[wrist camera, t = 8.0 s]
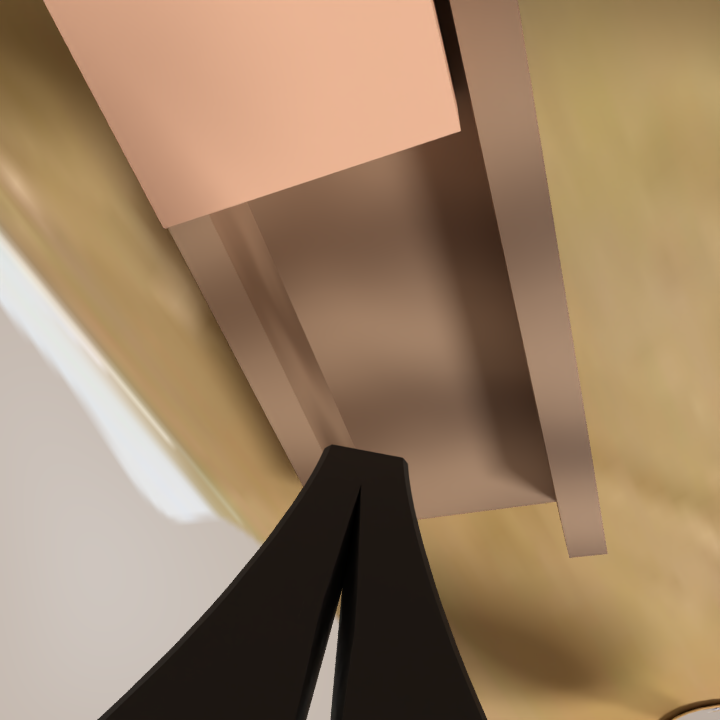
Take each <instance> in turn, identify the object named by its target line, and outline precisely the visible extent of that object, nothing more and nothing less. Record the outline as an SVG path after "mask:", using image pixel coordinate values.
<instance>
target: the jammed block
mask: <svg viewBox="0 0 720 720" xmlns="http://www.w3.org/2000/svg"><path fill="white" fill-rule="evenodd" d="M43 1H44V3H45V5H46V7H47V9H48V10H49V12H50V14H51V16H52V18H53V20H54V22H55V24H56V26H57V28H58V29H59V31H60V33H61V35H62V37H63V39H64V41H65V43H66V45H67V46H68V48H69V50H70V52H71V54H72V56H73V58H74V60H75V62H76V64H77V65H78V67H79V69H80V71H81V73H82V75H83V77H84V79H85V81H86V82H87V84H88V86H89V88H90V90H91V92H92V94H93V96H94V98H95V100H96V101H97V103H98V105H99V107H100V109H101V111H102V113H103V115H104V117H105V118H106V120H107V122H108V124H109V126H110V128H111V130H112V132H113V134H114V135H115V137H116V139H117V141H118V143H119V145H120V147H121V149H122V151H123V153H124V154H125V156H126V158H127V160H128V162H129V164H130V166H131V168H132V170H133V171H134V173H135V175H136V177H137V179H138V181H139V183H140V185H141V187H142V189H143V190H144V192H145V194H146V196H147V198H148V200H149V202H150V204H151V206H152V207H153V209H154V211H155V213H156V215H157V217H158V219H159V221H160V223H161V224H162V226H163V228H164V229H165V228H168V227H171V226H174V225H178V224H181V223H184V222H187V221H190V220H193V219H196V218H199V217H202V216H205V215H208V214H211V213H214V212H217V211H220V210H223V209H226V208H229V207H232V206H235V205H238V204H241V203H244V202H247V201H250V200H253V199H256V198H259V197H262V196H265V195H268V194H271V193H274V192H278V191H281V190H284V189H287V188H290V187H293V186H296V185H299V184H302V183H305V182H308V181H311V180H314V179H317V178H320V177H323V176H326V175H329V174H332V173H335V172H338V171H341V170H344V169H347V168H350V167H353V166H356V165H359V164H362V163H365V162H368V161H371V160H375V159H378V158H381V157H384V156H387V155H390V154H393V153H396V152H399V151H402V150H405V149H408V148H411V147H414V146H417V145H420V144H423V143H426V142H429V141H432V140H435V139H438V138H441V137H444V136H447V135H450V134H453V133H456V132H459V131H461V128H460V121H459V115H458V108H457V101H456V94H455V90H454V85H453V81H452V77H451V72H450V68H449V63H448V59H447V55H446V50H445V46H444V41H443V37H442V32H441V28H440V24H439V19H438V15H437V10H436V6H435V2H434V0H43Z"/></svg>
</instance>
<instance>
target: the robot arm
mask: <svg viewBox="0 0 720 720" xmlns="http://www.w3.org/2000/svg"><path fill="white" fill-rule="evenodd" d="M341 591H342V597H341V608H340V619H339V630H338V641H337V642H338V643H337V653H336V664H335V676H334V686H333V698H332V709H331V720H487V718H486V716H485V713H484V711H483V709H482V706H481V704H480V702H479V699H478V697H477V695H476V692H475V690H474V688H473V685H472V683H471V681H470V678H469V676H468V673H467V671H466V668H465V666H464V663H463V661H462V658H461V656H460V653H459V650H458V648H457V645H456V643H455V640H454V637H453V634H452V632H451V629H450V626H449V623H448V620H447V618H446V615H445V612H444V609H443V607H442V604H441V601H440V598H439V594H438V591H437V588H436V585H435V582H434V579H433V575H432V572H431V569H430V565H429V562H428V559H427V555H426V552H425V548H424V545H423V541H422V537H421V534H420V530H419V526H418V521H417V517H416V512H415V508H414V503H413V498H412V492H411V486H410V479H409V469H408V463H407V462H406V461H405V459H404V458H402V457H397V456H392V455H386V454H381V453H376V452H371V451H365V450H360V449H355V448H349V447H344V446H339V445H333V444H331V445H329V446H328V447H326V448H324V450H323V453H322V455H321V457H320V459H319V461H318V463H317V465H316V467H315V468H314V470H313V472H312V474H311V475H310V477H309V479H308V480H307V482H306V484H305V485H304V487H303V488H302V490H301V491H300V493H299V495H298V496H297V498H296V499H295V501H294V502H293V504H292V505H291V506H290V508H289V509H288V511H287V512H286V513H285V515H284V516H283V518H282V519H281V520H280V522H279V523H278V524H277V526H276V527H275V529H274V530H273V531H272V533H271V534H270V535H269V537H268V538H267V539H266V541H265V542H264V543H263V545H262V546H261V547H260V549H259V550H258V551H257V552H256V553H255V555H254V556H253V557H252V558H251V560H250V561H249V562H248V563H247V564H246V566H245V567H244V568H243V569H242V570H241V572H240V573H239V574H238V575H237V577H236V578H235V579H234V580H233V582H232V583H231V584H230V585H229V586H228V588H227V589H226V590H225V591H224V592H223V593H222V594H221V595H220V597H219V598H218V599H217V600H216V601H215V602H214V603H213V605H212V606H211V607H210V608H209V609H208V610H207V611H206V612H205V613H204V614H203V615H202V617H201V618H200V619H199V620H198V621H197V622H196V623H195V624H194V625H193V626H192V627H191V629H189V631H187V633H186V634H185V635H184V636H183V637H182V638H181V639H180V640H179V641H178V642H177V643H176V644H175V645H174V646H173V647H172V648H171V649H170V650H169V651H168V652H167V653H166V654H165V655H164V656H163V657H162V658H161V659H160V660H159V661H158V662H157V663H156V664H155V665H154V666H153V667H152V668H151V669H150V670H149V671H148V672H147V673H146V674H145V675H144V676H143V677H142V678H141V679H140V680H139V681H138V682H137V683H136V684H135V685H134V686H133V687H132V688H131V689H130V690H129V691H128V692H127V693H126V694H124V695H123V696H122V697H121V698H120V699H119V700H118V701H117V702H116V703H115V704H114V705H113V706H112V707H111V708H110V709H109V710H107V711H106V712H105V713H104V714H103V715H102V716H101V717H100V718H99V719H98V720H306V719H307V715H308V711H309V708H310V704H311V700H312V697H313V693H314V689H315V686H316V682H317V679H318V675H319V671H320V668H321V664H322V660H323V657H324V653H325V650H326V646H327V642H328V638H329V635H330V631H331V628H332V624H333V620H334V617H335V613H336V610H337V606H338V602H339V599H340V595H341Z"/></svg>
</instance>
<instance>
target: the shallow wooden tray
mask: <svg viewBox="0 0 720 720" xmlns="http://www.w3.org/2000/svg"><path fill="white" fill-rule="evenodd" d="M434 2H435V6H436V10H437V15H438V19H439V24H440V28H441V32H442V37H443V41H444V46H445V50H446V55H447V59H448V63H449V68H450V72H451V77H452V81H453V85H454V90H455V94H456V101H457V108H458V115H459V121H460V128H461V131H459V132H456V133H453V134H450V135H447V136H444V137H441V138H438V139H435V140H432V141H429V142H426V143H423V144H420V145H417V146H414V147H411V148H408V149H405V150H402V151H399V152H396V153H393V154H390V155H387V156H384V157H381V158H378V159H375V160H371V161H368V162H365V163H362V164H359V165H356V166H353V167H350V168H347V169H344V170H341V171H338V172H335V173H332V174H329V175H326V176H323V177H320V178H317V179H314V180H311V181H308V182H305V183H302V184H299V185H296V186H293V187H290V188H287V189H284V190H281V191H278V192H274V193H271V194H268V195H265V196H262V197H259V198H256V199H253V200H250V201H247V202H244V203H241V204H238V205H235V206H232V207H229V208H226V209H223V210H220V211H217V212H214V213H211V214H208V215H205V216H202V217H199V218H196V219H193V220H190V221H187V222H184V223H181V224H178V225H174V226H171V227H168V229H169V231H170V233H171V235H172V237H173V239H174V241H175V243H176V245H177V246H178V248H179V250H180V252H181V254H182V256H183V258H184V260H185V262H186V264H187V266H188V267H189V269H190V271H191V273H192V275H193V277H194V279H195V281H196V283H197V285H198V287H199V288H200V290H201V292H202V294H203V296H204V298H205V300H206V302H207V304H208V306H209V308H210V309H211V311H212V313H213V315H214V317H215V319H216V321H217V323H218V325H219V327H220V329H221V330H222V332H223V334H224V336H225V338H226V340H227V342H228V344H229V346H230V348H231V350H232V351H233V353H234V355H235V357H236V359H237V361H238V363H239V365H240V367H241V369H242V371H243V372H244V374H245V376H246V378H247V380H248V382H249V384H250V386H251V388H252V390H253V392H254V393H255V395H256V397H257V399H258V401H259V403H260V405H261V407H262V409H263V411H264V413H265V414H266V416H267V418H268V420H269V422H270V424H271V426H272V428H273V430H274V432H275V434H276V435H277V437H278V439H279V441H280V443H281V445H282V447H283V449H284V451H285V453H286V455H287V456H288V458H289V460H290V462H291V464H292V466H293V468H294V470H295V472H296V474H297V476H298V477H299V479H300V481H301V483H302V485H303V487H304V485H305V484H306V482H307V480H308V479H309V477H310V475H311V474H312V472H313V470H314V468H315V467H316V465H317V463H318V461H319V459H320V457H321V455H322V453H323V450H324V448H326V447H328V446H329V445H331V444H333V445H339V446H344V447H349V448H355V449H360V450H365V451H371V452H376V453H381V454H386V455H392V456H397V457H402V458H404V459H405V461H406V462H407V463H408V469H409V479H410V486H411V492H412V498H413V503H414V508H415V512H416V517H417V520H418V519H426V518H434V517H441V516H449V515H457V514H465V513H472V512H480V511H488V510H496V509H503V508H511V507H519V506H527V505H534V504H542V503H550V502H557V506H558V511H559V515H560V519H561V524H562V528H563V532H564V537H565V541H566V545H567V550H568V554H569V558H572V557H582V556H592V555H602V554H608V553H607V547H606V541H605V535H604V529H603V523H602V516H601V510H600V504H599V498H598V492H597V486H596V479H595V473H594V467H593V461H592V455H591V449H590V442H589V436H588V430H587V424H586V418H585V412H584V405H583V399H582V393H581V387H580V381H579V375H578V369H577V362H576V356H575V350H574V344H573V338H572V332H571V325H570V319H569V313H568V307H567V301H566V295H565V288H564V282H563V276H562V270H561V264H560V258H559V251H558V245H557V239H556V233H555V227H554V221H553V215H552V208H551V202H550V196H549V190H548V184H547V178H546V171H545V165H544V159H543V153H542V147H541V141H540V134H539V128H538V122H537V116H536V110H535V104H534V97H533V91H532V85H531V79H530V73H529V67H528V61H527V54H526V48H525V42H524V36H523V30H522V24H521V17H520V11H519V5H518V0H434Z"/></svg>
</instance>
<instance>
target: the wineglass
mask: <svg viewBox="0 0 720 720" xmlns="http://www.w3.org/2000/svg"><path fill="white" fill-rule="evenodd" d="M671 720H720V704H718V705H712V706H706V707H701V708H697V709H694V710H690V711H687V712H685V713H683V714H680V715H678V716H676V717H674V718H673V719H671Z"/></svg>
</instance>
